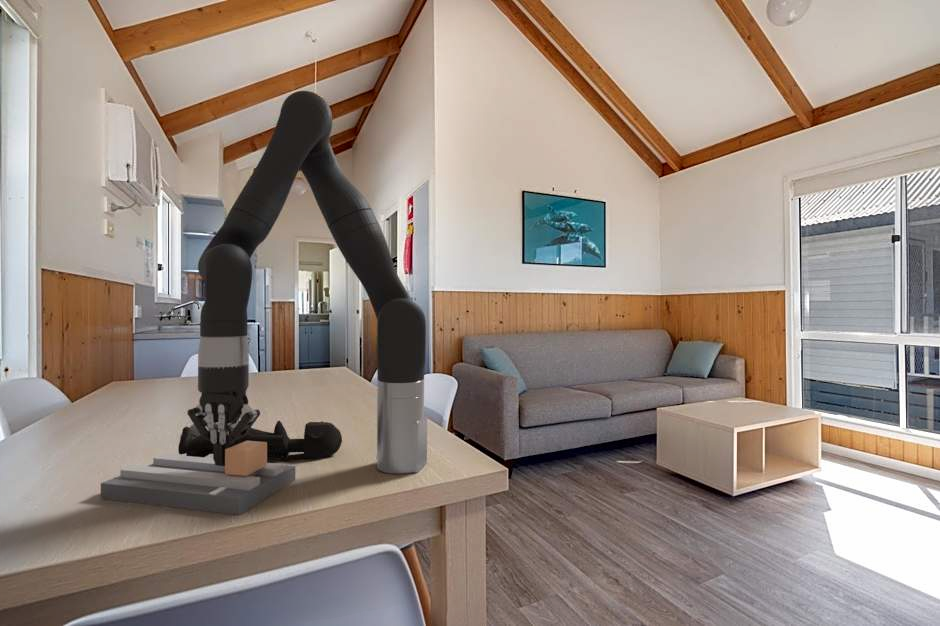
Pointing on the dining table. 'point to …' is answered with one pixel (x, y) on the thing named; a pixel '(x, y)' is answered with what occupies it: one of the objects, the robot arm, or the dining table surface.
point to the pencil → (195, 430)
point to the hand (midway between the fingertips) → (223, 464)
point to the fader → (246, 458)
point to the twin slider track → (196, 484)
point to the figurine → (275, 442)
